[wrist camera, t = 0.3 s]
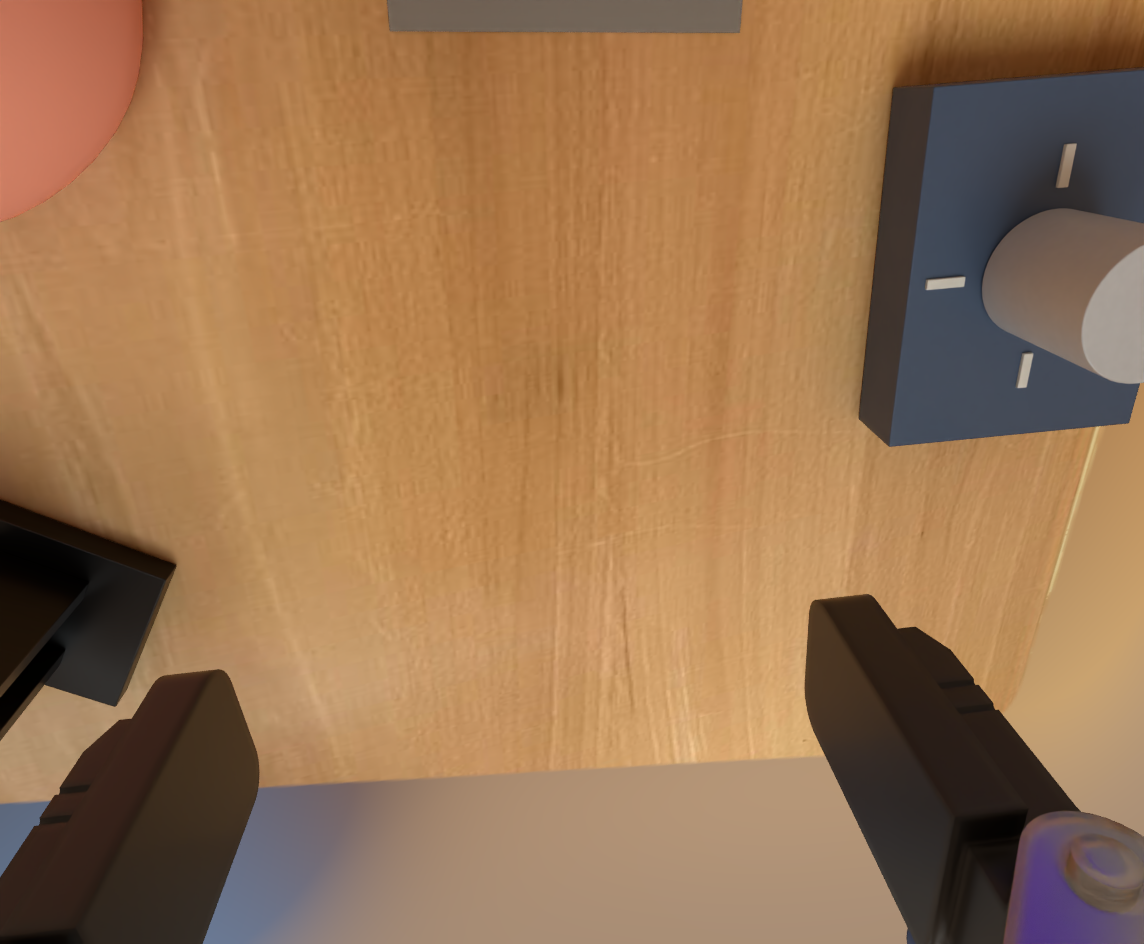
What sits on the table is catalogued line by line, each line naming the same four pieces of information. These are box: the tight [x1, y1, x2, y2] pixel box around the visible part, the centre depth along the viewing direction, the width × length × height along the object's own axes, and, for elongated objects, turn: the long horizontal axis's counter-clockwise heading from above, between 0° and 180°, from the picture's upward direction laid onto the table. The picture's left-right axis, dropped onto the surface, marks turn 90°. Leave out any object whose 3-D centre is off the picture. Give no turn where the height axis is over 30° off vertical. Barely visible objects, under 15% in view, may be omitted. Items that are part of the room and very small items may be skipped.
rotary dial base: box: [859, 67, 1144, 447], centre depth 29 cm, size 13×10×3 cm
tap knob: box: [982, 208, 1144, 384], centre depth 25 cm, size 5×5×6 cm
